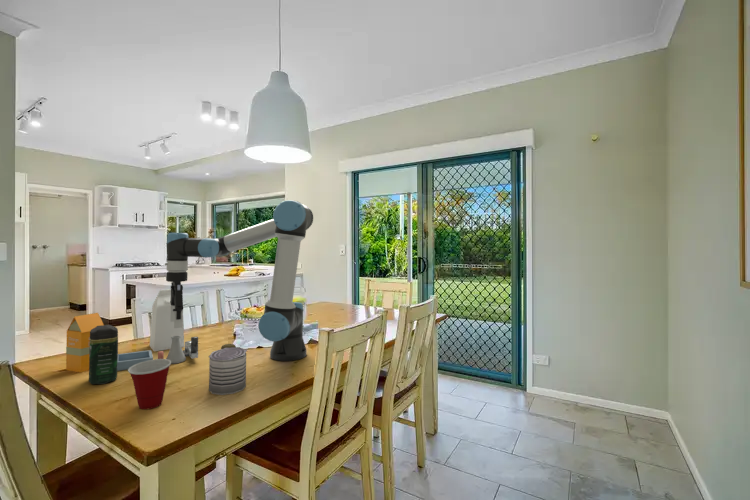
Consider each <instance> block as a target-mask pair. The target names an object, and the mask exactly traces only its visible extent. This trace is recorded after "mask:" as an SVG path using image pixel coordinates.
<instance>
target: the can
mask: <svg viewBox="0 0 750 500" xmlns="http://www.w3.org/2000/svg"><path fill="white" fill-rule="evenodd" d="M247 351H248V349H245V348H243V347H241V346H240V347H239V346H238V347H237V346H236V347H232V348H223V349H221V348H220V349H217V350H214V351H212V352H211V353H210V355H208V358H209V359H208V360H209V361H208V363H209V364H208V365H209V366H208V367H209V368H208V369H209V371H208V373H209V374H208V391H209V392H210V394H211V395H219V396H226V395H234V394H237V393H240V392H242V391H244V389H245V388H246V387H247Z"/></svg>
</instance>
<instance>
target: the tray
mask: <svg viewBox="0 0 750 500" xmlns="http://www.w3.org/2000/svg"><path fill="white" fill-rule="evenodd" d="M148 360H154V355H153V350H151V349H149V350H140V351H133V352H126V353H125V352H123V353H118V362H117V372H118V371H127V370H128V369H129V368H130V367H131V366H133V365H135V364H138V363H141V362H144V361H148Z"/></svg>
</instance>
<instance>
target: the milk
mask: <svg viewBox="0 0 750 500" xmlns="http://www.w3.org/2000/svg"><path fill="white" fill-rule="evenodd" d="M170 301H171V288H170V289H160V290H159V291H158V294H157V295H156V298H155V299H154V301H153V303H152V309H151V322H150V323H151V324H150V336H149V347H150V349H152V350H151V351H152V352H160V351H166V350H170V348H171V344H172V339H171V337H172V336H181V337H180V345H181V348H185V334H184V333H185V330H184V329H185V328H184V309H183V310H182V328H174V322H171V306H172V305H171V303H170Z"/></svg>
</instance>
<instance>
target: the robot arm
mask: <svg viewBox="0 0 750 500" xmlns="http://www.w3.org/2000/svg"><path fill="white" fill-rule="evenodd" d="M313 223H314V213H313V211H312V209H311V208H310V207H309V206H308V205H306V204H303V203H301V202H299V201H298V200H292V199H286V200H283V201H281V202H280V203H278V204H277V205H276V207H275V208H274V210H273V214H272V219H269V220H266V221H264V222H261V223H258V224H255V225H252V226H249V227H246V228H243V229H241V230H237V231H235V232H232V233H229V234H226V235H224V236H221V237H218V238H210V237H205V238H204V237H202V238H201V237H200V238H199V237H196V238H193V237H189V234H188V233H187V232H169V233H168V234H167V238H166V244H165V245H166V262H165V263H164V266H166V269H165V270H166V271H167V272H166V273H165V281H166V282H169V283H170V289H171V301H170V303H171V305H172V306H171V322H174V328H182V310H183V311H184V299H183V298H184V297H183V288H184V287H183V286H184V285H183V284H182V282H187V281H188V272H187V271H188V268H189V258H191V257H192V258H205V259H207V258H208V259H209V258H215V257H219V258H220V257H225V256H227V255H229V254H230V253H233V252H235V251H238V250H242V249H245V248H248V247H250V246H254V245H256V244H260V243H262V242H265V241H268V240H271V239H274V238H277V246H276V251H275V259H274V261H275V262H274V267H273V275H272V281H271V282H272V283H271V287H270V288H271V289H270V297H269V300H268V301H267V302H265V303H264V304H265V305H264V311H263V315H261V317H260V319H259V321H258V323H257V324H258V331H259V333H260V335H261V336H262V337H263V338H264V340H267V341H270V342H272V345H271V348H270V351H269V357H270V358H271V360H275V361H281V362H282V361H283V362H284V361H288V362H289V361H297V360H301V359H304V358H305V357H307V351H308V350H307V346H306V344H305V341H304V337H303V335H304V333H303V332H304V331H303V329H304V304H303V303H302V302H299V301H298V302H297V301H293V300H294V293H295V286H296V277H297V271H298V265H299V264H298V263H299V255H300V250H301V242H302V241H303V240H304V239H306V234H307V231H308V229H310V228H311V226H312V224H313Z"/></svg>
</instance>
